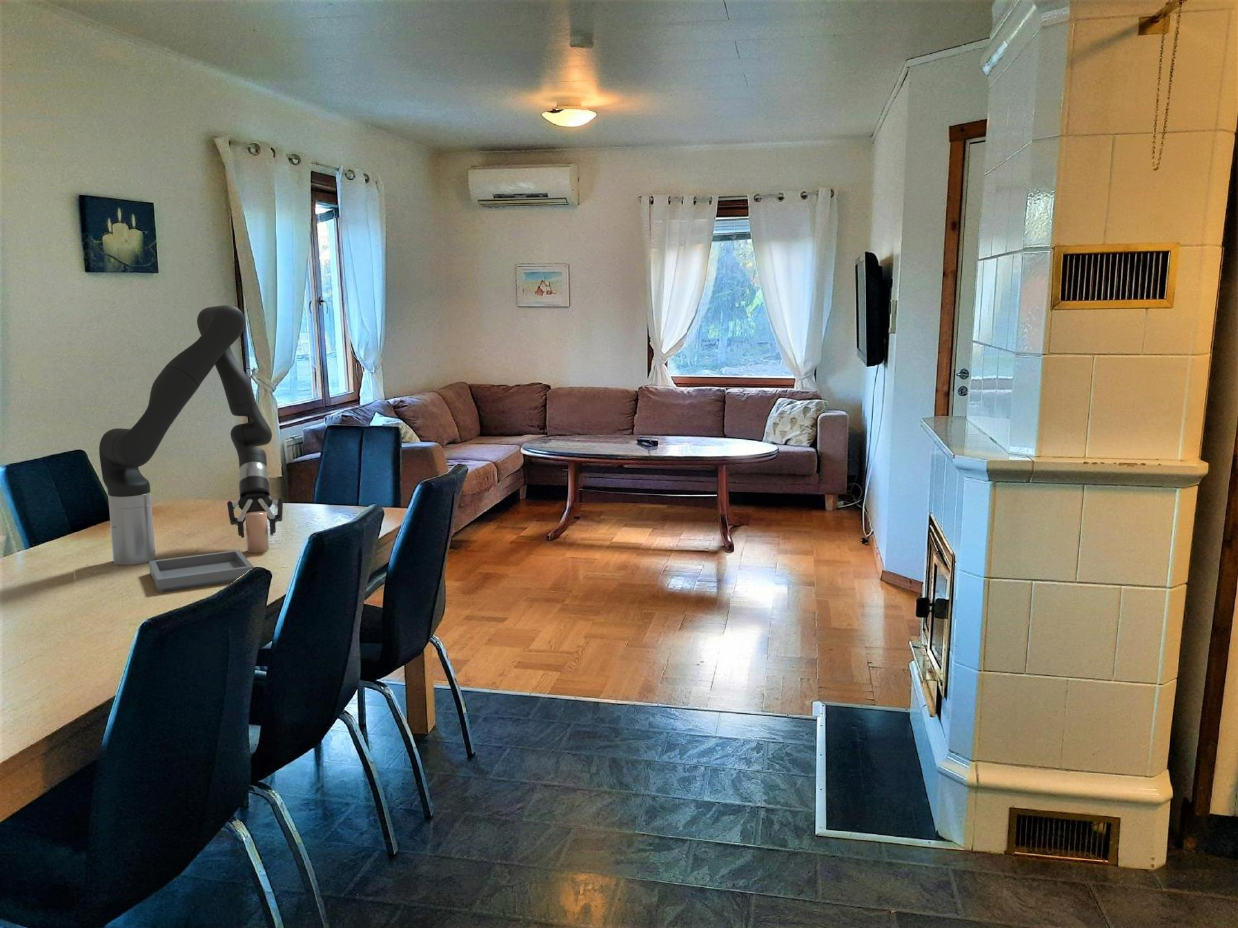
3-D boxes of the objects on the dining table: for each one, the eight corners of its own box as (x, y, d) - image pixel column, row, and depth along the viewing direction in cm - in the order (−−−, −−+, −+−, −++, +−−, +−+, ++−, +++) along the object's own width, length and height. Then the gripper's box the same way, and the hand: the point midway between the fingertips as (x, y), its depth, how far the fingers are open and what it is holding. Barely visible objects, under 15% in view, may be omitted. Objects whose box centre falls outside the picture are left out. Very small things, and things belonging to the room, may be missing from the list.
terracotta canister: (249, 554, 226) (247, 516, 224) (245, 549, 230) (243, 512, 229) (270, 551, 229) (268, 513, 227) (266, 547, 233) (264, 510, 231)
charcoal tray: (158, 592, 193) (157, 579, 193) (150, 573, 208) (149, 561, 208) (254, 579, 204) (253, 566, 203) (240, 561, 219) (239, 549, 218)
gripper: (224, 476, 230) (226, 529, 222) (282, 473, 236) (286, 525, 227) (225, 492, 236) (227, 545, 227) (282, 488, 242) (286, 540, 233)
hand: (257, 534), depth 227 cm, fingers open, 6 cm apart
